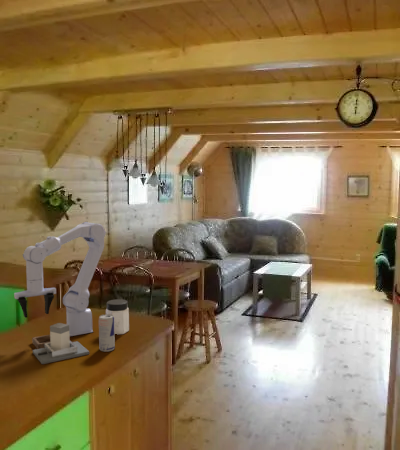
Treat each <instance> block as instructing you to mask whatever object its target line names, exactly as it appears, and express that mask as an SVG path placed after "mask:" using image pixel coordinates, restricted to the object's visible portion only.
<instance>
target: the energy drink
mask: <svg viewBox="0 0 400 450" xmlns="http://www.w3.org/2000/svg"><path fill="white" fill-rule="evenodd" d="M115 341H116V340H115V335H114V317H113V315H110V314H106V313H105V314H101V315H99V317H98V342H99V347H98V348H99V350H100V351H101V352H104V353H105V352H106V353H107V352H112V351H114V350H115V348H116V346H115V343H116V342H115Z"/></svg>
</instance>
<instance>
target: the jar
mask: <svg viewBox="0 0 400 450" xmlns="http://www.w3.org/2000/svg"><path fill="white" fill-rule="evenodd" d="M128 303H129V302H128V300H126V299H120V298H119V299H111V300H108V301H107V302H106V309H105V315H106V314H110V315H113V317H114V336H115V334H117V335H124V334H126V333H127V332H129V331H130V314H129V313H130V309H129V307H128Z"/></svg>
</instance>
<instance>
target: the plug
mask: <svg viewBox="0 0 400 450" xmlns="http://www.w3.org/2000/svg"><path fill="white" fill-rule="evenodd" d="M49 335H50V342H51V348H52V349H53V350H54V351H55V350H60V349H65V348H70V341H71V340H70V337H71V336H69V325H67V323H62V322H57V323H54V324H51V325H49Z"/></svg>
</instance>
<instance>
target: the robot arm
mask: <svg viewBox="0 0 400 450" xmlns="http://www.w3.org/2000/svg"><path fill="white" fill-rule="evenodd" d="M106 234H107V232H106V230H105V228H104V225H103V224H101V223H97V222H95V223H94V222H88V221H84V222H81V223H79V224H77V225H76V226H74V227H73V228H70V229H69V230H67V231H66V232H64V233H62V234H60V235H58V236H57V237H56V236H55V235H54V236H52V235H51V236H50V235H48V236H46V239H45V240H42V241H41V242H40V241H39V242H36V243H35V245H30V246H29V245H28V246H27V247H26V248H25V250H24V251H23V254H22V257H23V259H24V260H25V266H26V267H25V268H26V269H25V273H26V290H23V291H18V292H14V293H13V295H14V296H13V297H14V299H15V300H17V301H18V303H19V306H20V307H21V311H22V313H23V317H24V318H28V309H27V308H28V300H27V298H31V297H38V296H39V297H40V296H43V297H44V313H45V314H46V315H49V313H50V308H51V305H52V302H53V300H54V298H55V295H56V294H57V288H56V287H48V288H47V287H45V288H44V267H43V266H44V265H43V264H44V263H43V262H44V261H45V259H46V257H48V256H51V255H53V254H54V253H56V252H58V251H60V250H61V248H62V245H65V244H67V243H70V242H71V241H73V240H76V239H78V238H83V240H85V242H86V243H87V245H88V250H87V252H86V255H85V258H84V260H83V262H82V265H81V267H80V270H79V272H78V274H77V277H76V280H75V281H74V282H75V283H74V284H72V285H71V286H70V287H69V288H68V290H67V292H66V293H65V294H64V295H63V297H62V304H63V305H64V306H65V311H66V324H67V325H69V337H73V336H74V337H75V336H80V335H84V334H89V333H93V332H94V331H93V313H92V311H91V309H90V308H88V307H89V303H90V302H89V298H90V291H89V287H90V284H91V281H92V279H93V276H94V274H95V271H96V268H97V266H98V264H99V261H100V259H101V256H102V253H103V252H104V249H105V237H106Z"/></svg>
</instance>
